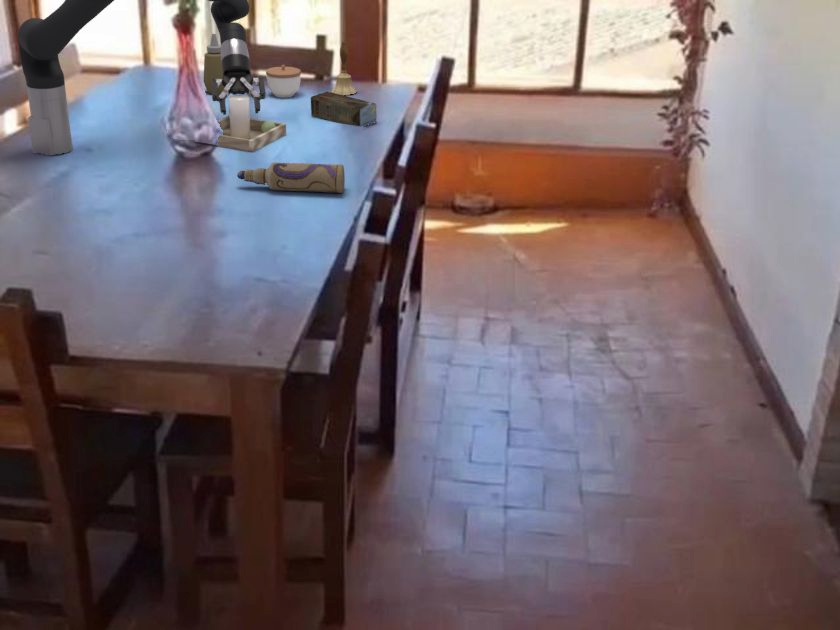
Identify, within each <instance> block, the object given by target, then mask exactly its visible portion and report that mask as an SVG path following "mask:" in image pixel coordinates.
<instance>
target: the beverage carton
mask: <svg viewBox="0 0 840 630" xmlns="http://www.w3.org/2000/svg"><path fill="white" fill-rule="evenodd" d="M377 107H378V105H377V103H374V102H371V101H367V100H363V99H359V98H355V97H352V96H349V95H346V96H344V95H340V94H336V93H332V92H331V91H330V92H329V91H325V92H323V93H318V94H317V95H313V96H311V97H310V113H311V116H312V117H314V118H319V119H323V120H326V121H331V122H334V123H339V124H341V125H350V126H355V127H357V126H358V127H361V128H362V126H365V125H368V124H371V123H374V122H376V123H377ZM374 124H375V123H374ZM371 125H372V124H371ZM368 126H369V125H368ZM365 127H366V126H365Z"/></svg>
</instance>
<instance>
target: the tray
mask: <svg viewBox="0 0 840 630" xmlns="http://www.w3.org/2000/svg"><path fill="white" fill-rule="evenodd" d="M217 121H218V123H219V124H220V127H221V129H222V130H223V135H219V137H218V146H217V147H219V148H220V147H221V148H227V149H232V150H238V151H239V150H240V151H245V152H251V153H254V152H256V151H257V150H259V149H261V148H263V147H265V146H267V145H269V144H270V143H272V142H274V141H276V140H278V139H280V138H282V137H283V136H286V135H287V123H283V122H276V121H272V122H273V123H274V124H275V126H276V127H275V128H273V129H271V130H269V131H267V132H265V133H263V132H262V130H261V126H262V124H263V123H264V122H266V121H267V120H263V119H258V118H257V119H256V118H251V117H250V139H245V138H238V137H232V136H230V116H229V115H228V116H225V117H223V118H221V119H218V120H217Z"/></svg>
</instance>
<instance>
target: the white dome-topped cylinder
mask: <svg viewBox="0 0 840 630" xmlns="http://www.w3.org/2000/svg"><path fill="white" fill-rule="evenodd" d="M250 106H251V105H250V96H249V95H244V94H236V95H229V96H228V112H229V115H228V116H230V136H232V137H238V138H245V139H250V118H251V115H250V111H251V109H250Z"/></svg>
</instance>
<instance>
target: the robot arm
mask: <svg viewBox="0 0 840 630" xmlns="http://www.w3.org/2000/svg"><path fill="white" fill-rule="evenodd" d="M114 1H115V0H64V1H63V3H62V4H61V5H59V7H58V8H57V9H55V10H54V11H53V12H51V14H49V15H47V17H45V18H44V19H42V18H39V17H33V18H28V19H26V20H25V21H23V22H22V23H21V25H20V26H19V29H18V33H17V44H18V49H19V50H18V51H19V55H20V56H19V57H20V61H21V62H20V63H21V68H22V73H23V75H24V79H25V83H26V89H27V90H26V91H27V96H28V97H27V98H28V104H29V111H30V115H29V117H28V119H27V120H28V125H29V126H28V127H29V132H30V141H31V148H32V152H36V153H35V154H38V153H42V154H41V155H43V154H47V155H46V156H49V155H53V156H56V155H55V154H58V155H63V154H62V153H64V154H66V153H67V154H68V153H70V152H71V151H72V150H73V148H74V147H73V140H72V139H73V138H72V132H71V130H72V129H71V122H70V117H69V116H70V114H69V107H68V106H69V105H68V100H67V92H66V91H67V90H66V89H67V88H66V82H65V75H64V71H63V70H62V67H61V64H60V59H59V54H60V53H61V52H63V50H64V49H65V48H66V47H67V45H68V44H69V43H70V42H71V40H73V39H74V38H75V36H76V35H77V34H78V33H79V32H80V30H82V29H83V28H84V27H85V26H87V24H89V23H90V22H91V21H92V20H93V19H95V18H96V17H97V16H98V15H99V14H100V13H102V12H103V11H104V10H105V9H106V8H107V7H108V6H110V5H111V4H112V3H113V2H114ZM207 1H208V2H212V3H211V6H210V14H211V16H212V18H213V21H214V23H215V25H216V28H217V31H218V34H219V39H220V41H219V42H220V45H221V62H222V72H223V78H222V79H216V78H215V77H213V78H212V94H211V99H212V101H213V102H218V103H219V109H220V113H222V114H223V116H225V115H227V106H226V99H227V98H228V99H229V97H230V96H231V94H232V96H235V95H245V94H246V95H247V96H248V97H249V98H252V99H253V103H254V111H255V113H254V114H258V113H259V112H260V111H261V100H265V99H266V95H267V92H266V87H265V81H264V77H263V76H262V75H259V76H258V77H253V76H252V74H251V73H252V72H251V63H250V55H249V50H248V46H247V37H246V36H247V35H246V30H245V27H244V25H242V24H241V23H239V22H236V21H237V20H241V19H244V18H246V17H247V16H248V14H249V13H250V3H249V1H248V0H207ZM220 84H222V85H223V86H224V87H225V88H224V89H223V91H222V93H221V94H217V88H218V87H219V86H220ZM253 84H255V86H257V87H258V90H259V92H257V91H256V90H255V88H254V87H253ZM69 151H70V152H69Z"/></svg>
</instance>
